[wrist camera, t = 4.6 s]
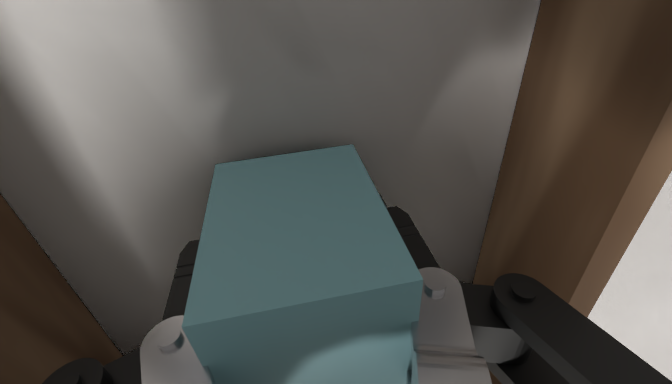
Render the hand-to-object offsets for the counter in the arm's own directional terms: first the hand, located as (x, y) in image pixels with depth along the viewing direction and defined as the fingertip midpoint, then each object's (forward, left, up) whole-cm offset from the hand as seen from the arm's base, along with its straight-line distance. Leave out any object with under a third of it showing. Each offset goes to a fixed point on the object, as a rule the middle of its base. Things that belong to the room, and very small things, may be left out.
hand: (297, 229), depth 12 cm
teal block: (0, 0, -1) cm, 1 cm away
